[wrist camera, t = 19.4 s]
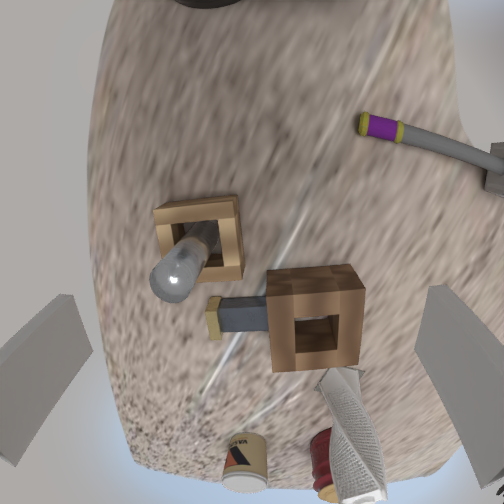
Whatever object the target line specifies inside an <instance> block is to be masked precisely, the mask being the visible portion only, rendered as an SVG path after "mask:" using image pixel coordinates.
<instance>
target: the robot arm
mask: <svg viewBox="0 0 504 504" xmlns="http://www.w3.org/2000/svg"><path fill="white" fill-rule="evenodd" d="M175 1H177V2H179V3H181V4H183V5H186V6H189V7H194V8H216V7H222V6H226V5H230V4H233V3H235V2H238V1H240V0H175ZM414 350H415V351H416V353H417V355H418V357H419V359H420V360H421V362H422V364H423V366H424V368H425V369H426V371H427V373H428V375H429V377H430V379H431V381H432V383H433V384H434V386H435V388H436V390H437V392H438V394H439V396H440V398H441V400H442V402H443V404H444V406H445V408H446V410H447V412H448V414H449V416H450V418H451V420H452V422H453V424H454V427H455V429H456V431H457V433H458V435H459V437H460V440H461V442H462V444H463V446H464V449H465V451H466V453H467V455H468V458H469V460H470V463H471V465H472V467H473V470H474V472H475V475H476V477H477V480H478V482H479V485H480V488H481V489H483V488H485V487H488V486H489V485H491V484H493V483H495V482H497V481H499V480H501V479H502V478H503V477H504V346H503V345H502V344H501V342H500V341H499V340H498V339H497V338H496V337H495V335H494V334H493V333H492V332H491V331H490V330H489V329H488V328H487V327H486V325H485V324H484V323H483V322H482V321H481V320H480V319H479V318H478V317H477V316H476V315H475V314H474V312H473V311H472V310H471V309H470V308H469V307H468V306H467V305H466V304H465V303H464V302H463V301H462V300H461V299H460V298H459V297H458V296H457V295H456V294H455V293H454V292H453V291H452V290H451V289H450V288H449V287H448V286H447V285H437V286H429V289H428V294H427V299H426V304H425V308H424V313H423V317H422V321H421V325H420V329H419V333H418V337H417V341H416V344H415V348H414ZM92 352H93V349H92V347H91V344H90V342H89V339H88V337H87V334H86V331H85V329H84V326H83V323H82V321H81V317H80V315H79V312H78V309H77V306H76V303H75V300H74V296H73V295H66V294H65V295H64V294H59V295H58V296H57V297H56V298H55V299H54V300H52V301H51V302H50V303H49V304H48V305H47V306H45V307H44V308H43V309H42V310H41V311H40V312H39V313H38V314H36V316H34V317H33V318H32V319H31V320H30V321H29V322H28V323H27V324H26V325H25V326H23V328H21V329H20V330H19V331H18V332H17V333H16V334H15V335H14V336H13V337H12V338H11V339H10V340H9V341H8V342H7V343H6V344H5V345H4V346H3V347H2V348H1V349H0V457H1V458H2V459H3V460H5V461H6V462H8V463H9V464H11V465H13V466H14V467H16V466H17V464H18V462H19V461H20V459H21V457H22V455H23V454H24V452H25V451H26V449H27V447H28V446H29V444H30V443H31V441H32V440H33V438H34V436H35V435H36V433H37V432H38V430H39V429H40V427H41V425H42V424H43V422H44V421H45V419H46V418H47V416H48V415H49V413H50V412H51V410H52V409H53V407H54V406H55V404H56V403H57V402H58V400H59V399H60V397H61V396H62V394H63V392H64V391H65V390H66V389H67V387H68V386H69V384H70V383H71V381H72V380H73V379H74V377H75V376H76V374H77V373H78V372H79V370H80V369H81V367H82V366H83V365H84V363H85V362H86V361H87V359H88V358H89V357H90V355H91V354H92ZM503 491H504V485H503V486H502V487H501V488H499V490H498V492H497V494H496V495H500V494H501V493H502V492H503ZM503 496H504V495H503ZM503 504H504V503H503Z"/></svg>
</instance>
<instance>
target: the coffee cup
mask: <svg viewBox="0 0 504 504" xmlns="http://www.w3.org/2000/svg"><path fill="white" fill-rule="evenodd" d="M221 482H222V485H223V486H224V487H225V488H227V489H229V490H231V491H234V492H238V493H257V492H260V491H262V490H264V489H265V488H266V487H267V485H268V475H267V453H266V441H265V439H264V438H263V437H262V436H260V435H258V434H255V433H247V432H245V433H239V434H236V435H234V436H233V437H232V439H231V442H230V446H229V450H228V454H227V458H226V462H225V466H224V471H223V476H222V477H221Z"/></svg>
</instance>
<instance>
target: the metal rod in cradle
mask: <svg viewBox="0 0 504 504" xmlns="http://www.w3.org/2000/svg"><path fill="white" fill-rule="evenodd" d="M219 237H220V233H219V229H218V227H217V226H216V225H215V224H214V223H213V222H211V221H208V220H206V221H199V222H197V223H196V224H195V225H194V226H193V227H192V228H191V229H190V230H189V231H188V232H187V233H186V234H185V235H184V236H183V237H182V238H181V240H180V241H179V242H178V243H177V244H176V245H175V246H174V247H173V248H172V249H171V250H170V251H169V252H168V253H167V255H166V256H165V257H164V258H163V259H162V260H161V261H160V262H159V263H158V264H157V265H156V267H155V268H154V269H153V270H152V272H151V274H150V279H149V280H150V286H151V289H152V291H153V292H154V293H155V295H156V296H157V297H158V298H160V299H161V300H163V301H165V302H168V303H179V302H182V301H183V300H185V299H186V298H187V297H188V295H189V294H190V292H191V290H192V288H193V286H194V284H195V282H196V281H197V279H198V277H199V275H200V273H201V271H202V269H203V268H204V266H205V264H206V262H207V260H208V258H209V257H210V255H211V253H212V251H213V249H214V248H215V246H216V244H217V242H218V240H219Z"/></svg>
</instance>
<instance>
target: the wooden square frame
mask: <svg viewBox="0 0 504 504" xmlns="http://www.w3.org/2000/svg"><path fill="white" fill-rule="evenodd" d="M153 213H154V219H155V225H156V230H157V236H158V241H159V246H160V251H161V256H162V259H163V258H164V257H165V256H166V255H167V253H168V252H169V251H170V250H171V249H172V248H173V247H174V246H175V245H176V244H177V243H178V242H179V241H180V240H181V238H182V237H183V236H184V235H185V233H184V227H183V223H186V222H196V221H206V220H216V219H218V224H219V232H220V240H221V247H222V254H211V255H210V257H209V258H208V260H207V262H206V264H205V266H204V268H203V269H202V271H201V273H200V275H199V277H198V279H197V281H196V282H195V283H202V282H219V281H236V280H242V278H243V273H244V268H245V259H244V251H243V242H242V233H241V224H240V215H239V206H238V197H237V195H229V196H220V197H210V198H201V199H192V200H184V201H176V202H168V203H165V204H163V205H161V206H159V207H158V208H156V209H154V210H153Z"/></svg>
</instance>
